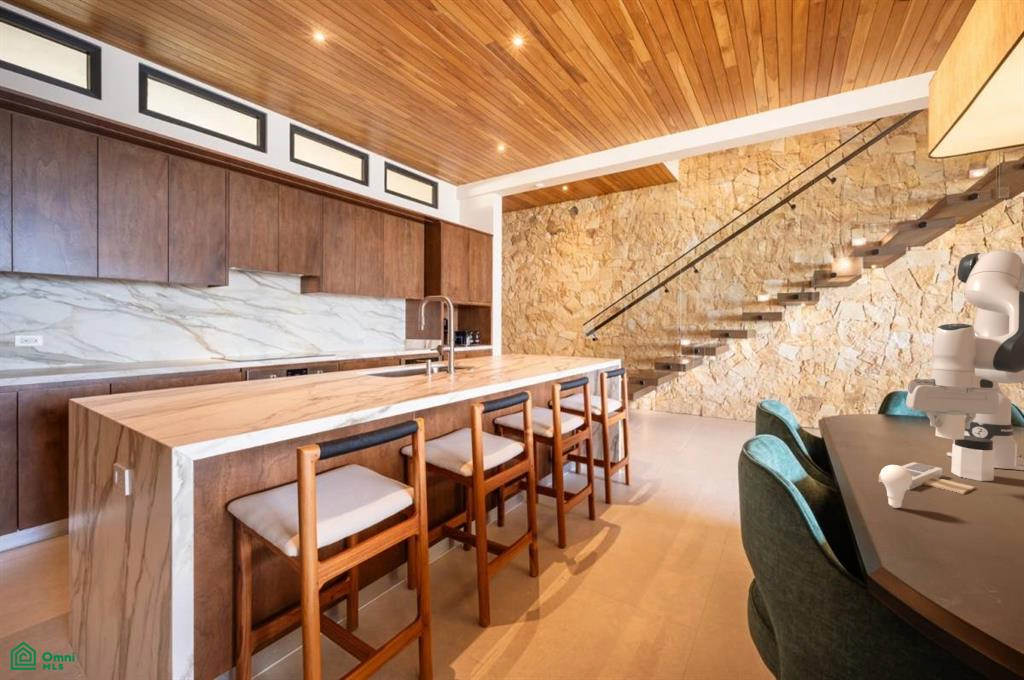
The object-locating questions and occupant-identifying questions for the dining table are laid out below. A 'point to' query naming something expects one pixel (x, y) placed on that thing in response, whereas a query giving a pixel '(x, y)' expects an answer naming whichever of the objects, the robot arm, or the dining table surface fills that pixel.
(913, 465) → the power strip
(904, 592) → the dining table surface
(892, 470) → the lightbulb
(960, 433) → the block
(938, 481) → the coaster
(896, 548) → the dining table surface
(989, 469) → the jar
